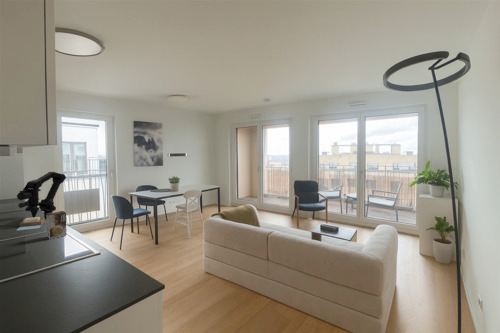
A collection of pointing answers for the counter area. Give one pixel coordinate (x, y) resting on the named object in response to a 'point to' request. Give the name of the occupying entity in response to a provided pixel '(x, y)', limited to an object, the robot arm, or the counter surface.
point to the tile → (31, 219)
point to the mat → (28, 227)
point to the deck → (32, 223)
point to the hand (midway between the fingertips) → (33, 217)
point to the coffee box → (56, 224)
